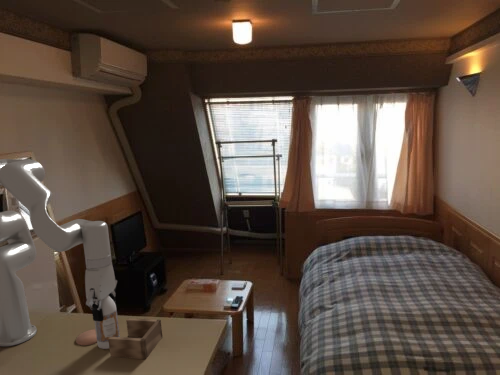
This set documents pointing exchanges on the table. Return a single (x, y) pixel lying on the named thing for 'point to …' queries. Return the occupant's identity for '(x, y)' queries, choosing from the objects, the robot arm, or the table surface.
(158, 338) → the shelf bay
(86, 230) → the robot arm
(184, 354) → the table surface
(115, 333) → the bath foam
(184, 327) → the table surface
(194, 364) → the table surface
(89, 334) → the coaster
